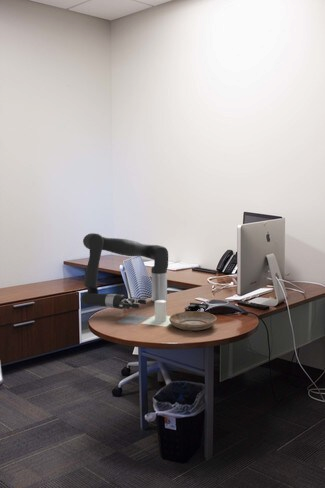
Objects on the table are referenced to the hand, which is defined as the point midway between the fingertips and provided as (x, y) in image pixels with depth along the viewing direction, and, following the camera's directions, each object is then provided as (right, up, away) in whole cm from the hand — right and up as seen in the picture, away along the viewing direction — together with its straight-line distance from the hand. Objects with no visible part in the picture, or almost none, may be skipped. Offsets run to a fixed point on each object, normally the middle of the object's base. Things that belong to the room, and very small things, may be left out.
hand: (142, 304), depth 270 cm
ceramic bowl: (+26, -10, -13) cm, 31 cm away
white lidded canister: (+10, -8, -3) cm, 13 cm away
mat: (-5, -8, -1) cm, 10 cm away
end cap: (+30, -7, +5) cm, 31 cm away
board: (+10, -8, -3) cm, 13 cm away
